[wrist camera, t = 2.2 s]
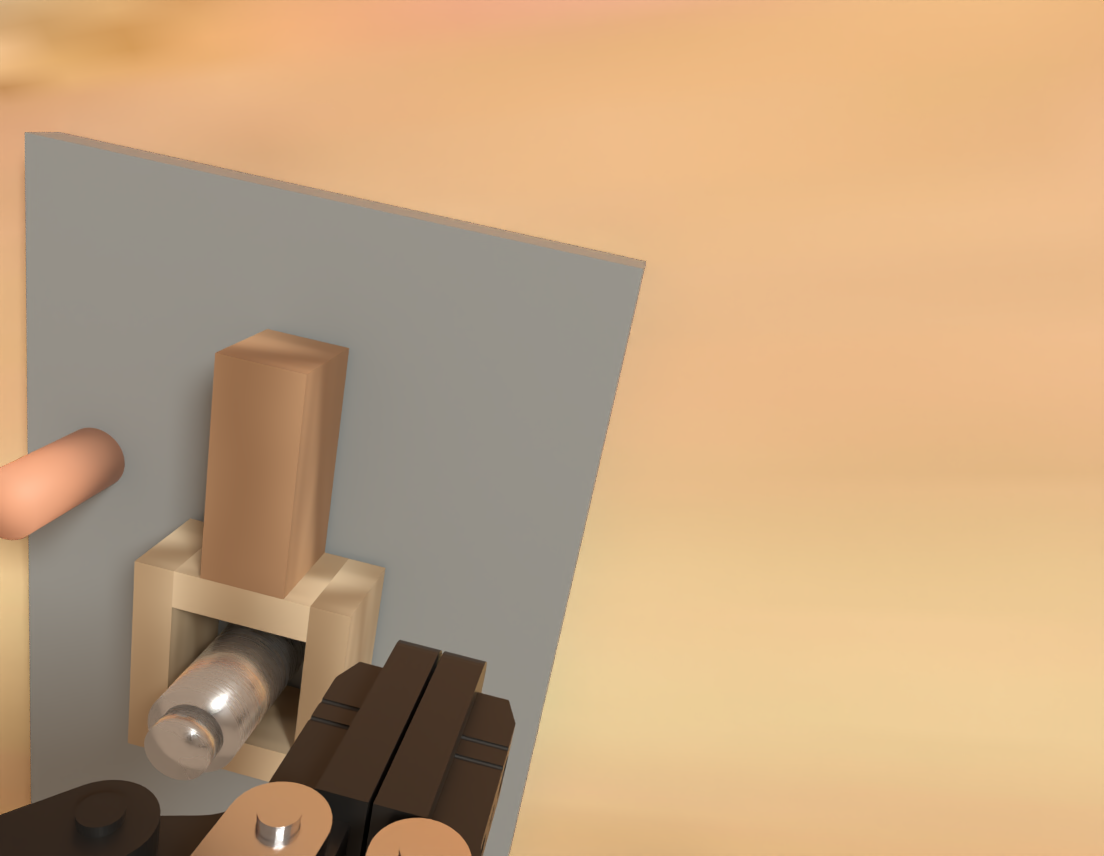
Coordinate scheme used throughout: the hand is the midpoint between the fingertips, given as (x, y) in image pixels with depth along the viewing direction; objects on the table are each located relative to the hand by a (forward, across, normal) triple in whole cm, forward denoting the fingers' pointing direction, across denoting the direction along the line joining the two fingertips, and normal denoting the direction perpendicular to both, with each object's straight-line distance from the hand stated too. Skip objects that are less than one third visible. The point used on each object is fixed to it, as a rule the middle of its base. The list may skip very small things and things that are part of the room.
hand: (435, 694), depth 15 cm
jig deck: (+14, +7, +8) cm, 17 cm away
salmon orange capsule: (+12, +14, +4) cm, 19 cm away
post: (+12, +7, +8) cm, 16 cm away
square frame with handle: (+12, +7, +5) cm, 15 cm away
